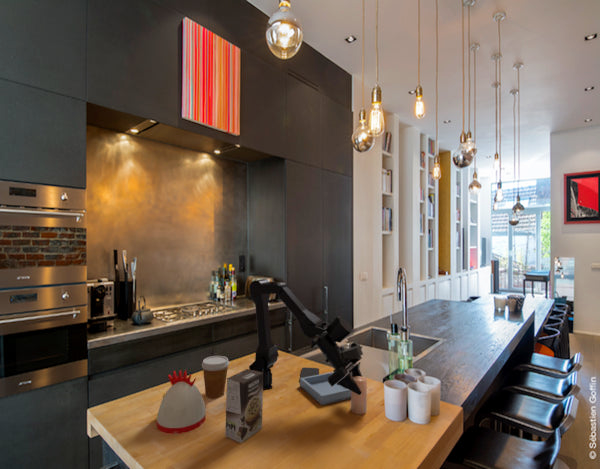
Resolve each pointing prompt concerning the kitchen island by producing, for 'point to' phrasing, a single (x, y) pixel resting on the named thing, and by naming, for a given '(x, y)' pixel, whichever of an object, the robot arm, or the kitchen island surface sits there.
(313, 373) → the phone
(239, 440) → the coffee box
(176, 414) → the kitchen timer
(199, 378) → the kitchen island surface
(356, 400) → the tan rounded glossy part
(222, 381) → the disposable coffee cup
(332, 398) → the tray
